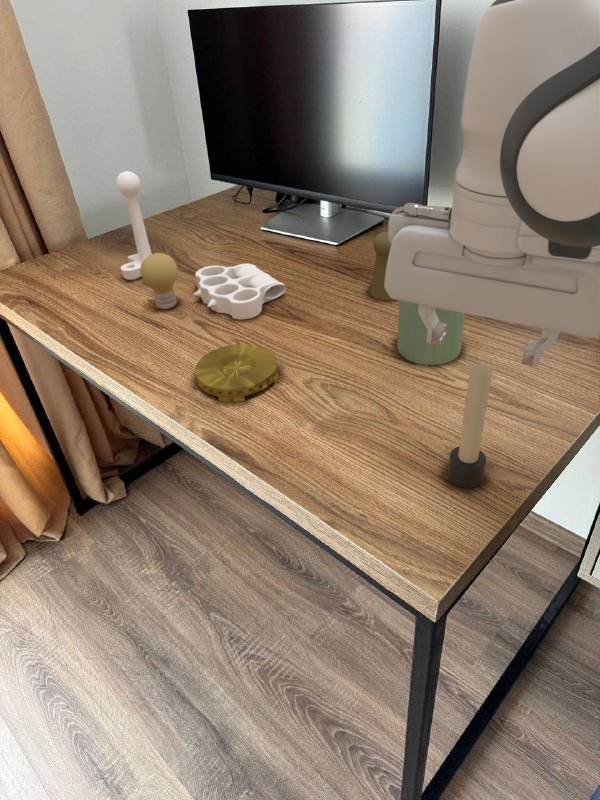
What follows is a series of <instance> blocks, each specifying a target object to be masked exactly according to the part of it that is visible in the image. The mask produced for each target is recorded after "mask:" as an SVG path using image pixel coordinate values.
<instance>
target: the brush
mask: <svg viewBox="0 0 600 800" xmlns="http://www.w3.org/2000/svg"><path fill="white" fill-rule="evenodd" d="M468 374H469V375H468V380H467V381H468V382H467V389H466V397H465V403H464V409H463V410H464V411H463V418H462V425H461V432H460V440H459V445H458V446H457V447H454V448H453V449H452V450H451V451H450V453H449V460H448V468H447V476H448V479H449V481H450V483H452V484H453V485H454V486H457V487H460V488H462V489H473V488H476V487H479V486H480V485H481V484H482V483H483V481H484V475H485V471H486V466H487V465H486V464H487V456H486V454H485V453H484V451H482V450H481V445H482V437H483V432H484V426H485V421H486V420H485V419H486V414H487V408H488V403H489V402H488V401H489V396H490V389H491V384H492V378H493V368H492V367H491V366H490V365H487V364H485V363H475V364H473V365H471V366H470V368H469V373H468Z"/></svg>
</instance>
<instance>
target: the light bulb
mask: <svg viewBox="0 0 600 800" xmlns="http://www.w3.org/2000/svg"><path fill="white" fill-rule="evenodd" d="M140 271H141V276H142V277H141V279H142V280H143V282H144V284H146V286H148V287H149V288H150V289H151V290H153V296H154V301H155V305H156V307H157V308H158V309H161V310H169V309H172V308H173V307H175V306H176V305H177V303H178V301H177V297H176V293H175V292H176V291H175V288H174V285H175V283H176V281H177V279H178V276H179V269H178V265H177V263H176V261H175V260H174V258H173V257H172V256H170V255H169V254H166V253H163V252H154V253H152V254H151V255H149V256H147V257H146V258H145V259H144V260H143V261H142V263H141V268H140Z"/></svg>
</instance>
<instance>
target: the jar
mask: <svg viewBox="0 0 600 800" xmlns="http://www.w3.org/2000/svg"><path fill="white" fill-rule="evenodd" d="M398 301H399V302H398V320H397V321H398V323H397V324H398V325H397V339H396V340H397V342H396V343H397V344H396V349H397V351H398V353H399V354H400V356H401V357H403V358H404V359H405V360H407V361H410V362H412V363H415V364H418V365H423V366H424V365H425V366H437V365H438V366H439V365H443V364H447V363H450V362H452V361H454V360H455V359H456V358H458V357H459V355H460V353H461V350H462V344H463V337H464V327H465V320H466V313H461V312H456V311H451V310H446V309H441V308H435V312H436V315H437V317H438V319H439V322H441V323H446V324H447V328H446V331H445V332H446V336H445V340H444V341H443V342H442V344H441V345H437V344H432V343H428V342H427V330H428V329H427V328H426V327H425V325H424V323H423V321H422V319H421V317H420V315H419V314H418V305H419V304H416V303H411V302H406V301H401V300H398Z"/></svg>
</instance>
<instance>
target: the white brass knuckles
mask: <svg viewBox="0 0 600 800" xmlns="http://www.w3.org/2000/svg"><path fill="white" fill-rule="evenodd" d="M194 277H195V281H196V288H197V290H196V291H195V292H194V293H193V294H192V296H194V297H199V298H201V301H202V303H203V304H205V305H207V306H206V307H207V308H210V309H211V310H212V311H213V312H216V313H219V314H226V315H229V316H231V318H232V319H234V320H239V321H240V320H243V321H244V320H249V319H253V318H255V317H257V316H259V315H260V314H261V313H262V311H263V305H264V304H266V303H268V302H272V301H273V300H275V299H277V298H279V297H281V296H282V295H284V294H285V292H286V288H287V287H286V285H285V283H283V282H280V281H279V280H277V279H275V278H274V277H272V276H271V275H270V274H269V273H266V272H265V271H263V270H262V269H260V268H258V267H257V266H256V265H255V264H252V263H248V262H247V263H240V264H237V265H234V266H224V265H209V266H204V267H202V268H199V269H198V270H196V272H195V275H194Z"/></svg>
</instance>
